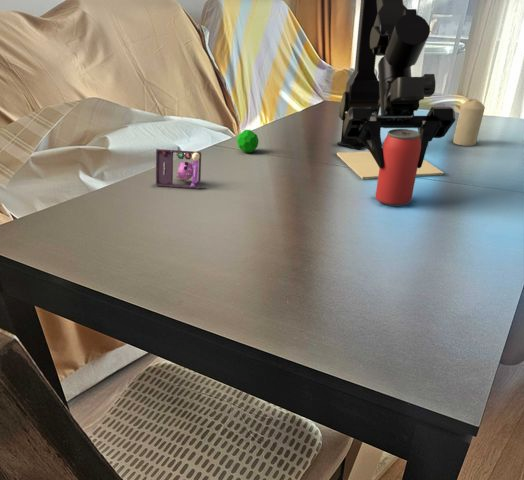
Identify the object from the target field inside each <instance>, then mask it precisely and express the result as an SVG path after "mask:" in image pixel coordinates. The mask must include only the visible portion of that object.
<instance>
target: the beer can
mask: <svg viewBox="0 0 524 480" xmlns="http://www.w3.org/2000/svg"><path fill="white" fill-rule="evenodd" d="M382 150H383V167H382V168H379V175H378V178H377V183H376V190H375V199H376V201H377V202H379V203H381V204H382V205H386V206H390V207H401V206H406V205H408V204H409V203H410V202H411V201H412V198H413V193H414V188H415V182H416V177H417V176H416V173H417V168H418V162H419V157H420V152H421V141H420V133H419V132H418V130H415V129H414V130H413V129H409V128H392V129H390V130H389V131H387V135H386V137H385V139H384V141H383V144H382Z"/></svg>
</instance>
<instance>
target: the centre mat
mask: <svg viewBox="0 0 524 480" xmlns="http://www.w3.org/2000/svg"><path fill="white" fill-rule="evenodd" d="M336 156H337V157H338V158H340V160H341V161H343V162H344V163H345V164H346V165H347V166H348V167H349V168H350V169H351V170H352V171H353V172H354V173H355V174H356V175H357V176H358V177H359V178H360V179H362V180H378V175H379V166H378V164H377V163H376V161H375V159H374V158H373V156H372V154H371V153H370V151H369V150H367V151H347V152H336ZM444 174H445V172H444V171H442V170H440V169H439V168H438V167H436V166H435V165H433V164H431V163H430V162H429V161H427V160H426V159H424V160H423V163H422V166H421V168H417V173H416V177H431V176H432V177H433V176H444Z"/></svg>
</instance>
